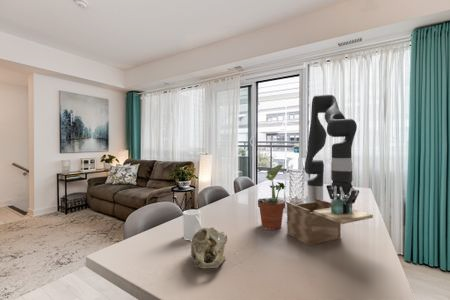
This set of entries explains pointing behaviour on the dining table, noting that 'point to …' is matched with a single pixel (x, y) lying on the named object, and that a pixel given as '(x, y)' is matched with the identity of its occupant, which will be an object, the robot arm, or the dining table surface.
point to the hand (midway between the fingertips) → (341, 212)
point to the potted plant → (272, 204)
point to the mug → (191, 223)
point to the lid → (338, 215)
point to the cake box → (311, 223)
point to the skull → (208, 247)
